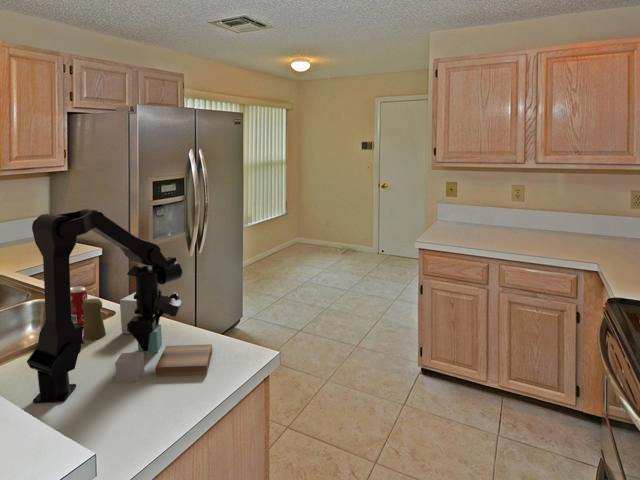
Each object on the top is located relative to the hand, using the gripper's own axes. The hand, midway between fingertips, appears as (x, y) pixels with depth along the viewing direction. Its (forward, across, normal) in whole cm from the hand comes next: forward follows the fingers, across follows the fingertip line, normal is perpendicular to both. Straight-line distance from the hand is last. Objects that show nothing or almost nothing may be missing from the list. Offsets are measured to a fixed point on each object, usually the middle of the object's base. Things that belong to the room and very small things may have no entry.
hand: (150, 343), depth 120 cm
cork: (+2, +10, +18) cm, 21 cm away
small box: (+2, +14, +7) cm, 16 cm away
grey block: (+2, -15, +1) cm, 15 cm away
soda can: (+2, +18, +25) cm, 31 cm away
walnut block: (+2, -10, -11) cm, 15 cm away
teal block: (+2, 0, 0) cm, 2 cm away
